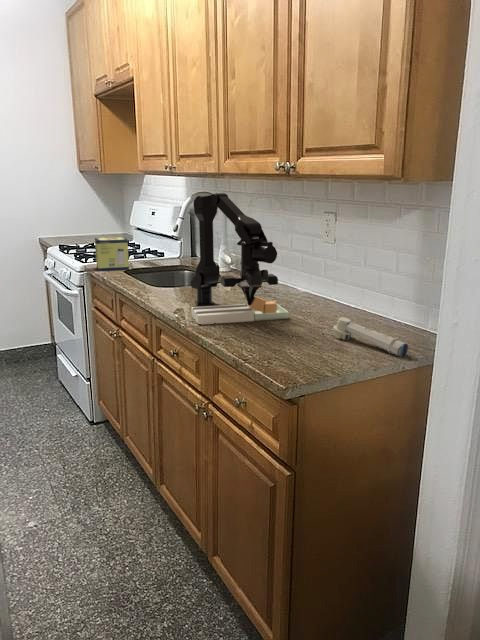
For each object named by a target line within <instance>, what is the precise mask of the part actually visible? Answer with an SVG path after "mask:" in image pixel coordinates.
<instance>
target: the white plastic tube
mask: <svg viewBox="0 0 480 640" xmlns="http://www.w3.org/2000/svg"><path fill="white" fill-rule="evenodd" d="M332 330H333V336H334V338H336V339H338V340H340V339H342V340H345V341H348V340H351V338H352V335H353V336H356V337H358V338H360V339H362V340H364V341H365V342H368V343H370V344H372V345H374V346H376V347H378V348H380V349H382V350H383V351H384V350H385V351H386V352H388V354H390V353H391V354H392V355H394V354H395V356H397V357H399V356H400V358H402V357H404V355H405V356H406V355H407V353H408V352H409V348H410V347H409V345H408V343H405V342H403V341H401V340H399V339H398V337H396V338H395V337H392V336H388V335H386V334H384V333H381V332H379V331H375V330H373V329H370V328H367V327H365V326H362V325H359V324H357V323H354V322H352V320H351V319H350V318H349V317H344V316H343V317H339V318H338V319H337V322H336V324H334V325H333V327H332ZM401 356H402V357H401Z"/></svg>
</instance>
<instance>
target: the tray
mask: <svg viewBox="0 0 480 640" xmlns="http://www.w3.org/2000/svg"><path fill="white" fill-rule="evenodd" d="M276 304H277V303H276ZM247 306H248V305H247ZM248 307H249V306H248ZM249 308H251V307H249ZM252 311H254V322H257V321H275V320H286V319H287V320H289V319H290V312H289V311H288V310H287V309H285V308H284V307H283V306H281V305H279V304H277V307H276V313H264V314H263V313H262V312H261V311H258V310H255V309H252Z"/></svg>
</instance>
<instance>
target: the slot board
mask: <svg viewBox="0 0 480 640" xmlns="http://www.w3.org/2000/svg"><path fill="white" fill-rule="evenodd" d="M191 317H192V318H193V320H194V319H195V320H194V321H195V322H196V324H197V323H198V324H201V325H214V323H216V324H227V323H228V324H229V323H244V322H255V320H254V311H252V308H249V307H248V304H247V303H246V304H245V303H244V304H243V303H242V304H224V305H222V304H221V305H203V306H193V307H191ZM198 324H197V325H198Z"/></svg>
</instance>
